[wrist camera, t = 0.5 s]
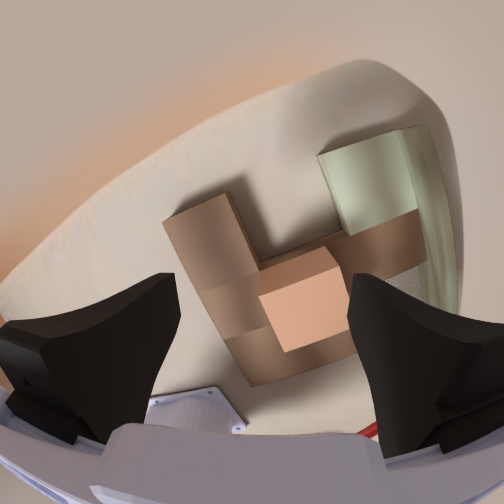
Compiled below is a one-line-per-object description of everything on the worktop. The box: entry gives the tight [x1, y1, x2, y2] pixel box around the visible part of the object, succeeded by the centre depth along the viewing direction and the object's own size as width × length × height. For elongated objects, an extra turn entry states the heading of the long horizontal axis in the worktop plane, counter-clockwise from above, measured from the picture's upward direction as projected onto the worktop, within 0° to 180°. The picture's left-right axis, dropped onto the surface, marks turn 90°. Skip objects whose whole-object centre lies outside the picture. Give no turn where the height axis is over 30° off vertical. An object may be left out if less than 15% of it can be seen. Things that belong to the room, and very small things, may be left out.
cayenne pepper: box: [357, 421, 378, 439], centre depth 28 cm, size 12×5×2 cm, turn 103°
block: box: [258, 246, 349, 352], centre depth 18 cm, size 5×4×4 cm
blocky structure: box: [162, 124, 458, 387], centre depth 19 cm, size 19×16×5 cm
